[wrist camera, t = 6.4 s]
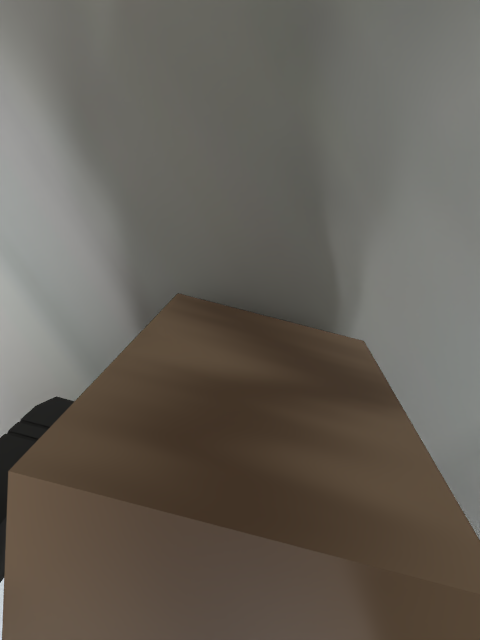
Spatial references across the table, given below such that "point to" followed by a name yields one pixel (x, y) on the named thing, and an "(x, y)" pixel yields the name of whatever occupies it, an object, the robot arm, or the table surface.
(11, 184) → the table surface
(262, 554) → the walnut block
